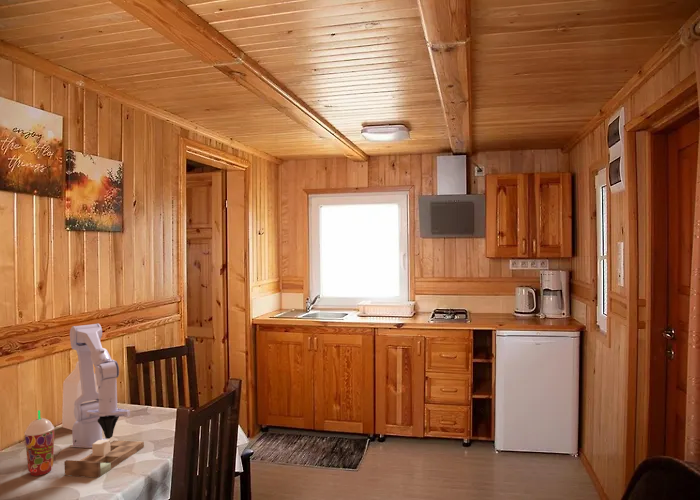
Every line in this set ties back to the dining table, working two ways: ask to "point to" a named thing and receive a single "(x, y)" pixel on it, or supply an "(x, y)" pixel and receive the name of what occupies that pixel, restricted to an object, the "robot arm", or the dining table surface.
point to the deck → (103, 459)
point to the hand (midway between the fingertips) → (109, 437)
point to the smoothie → (39, 446)
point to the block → (101, 447)
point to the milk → (72, 396)
